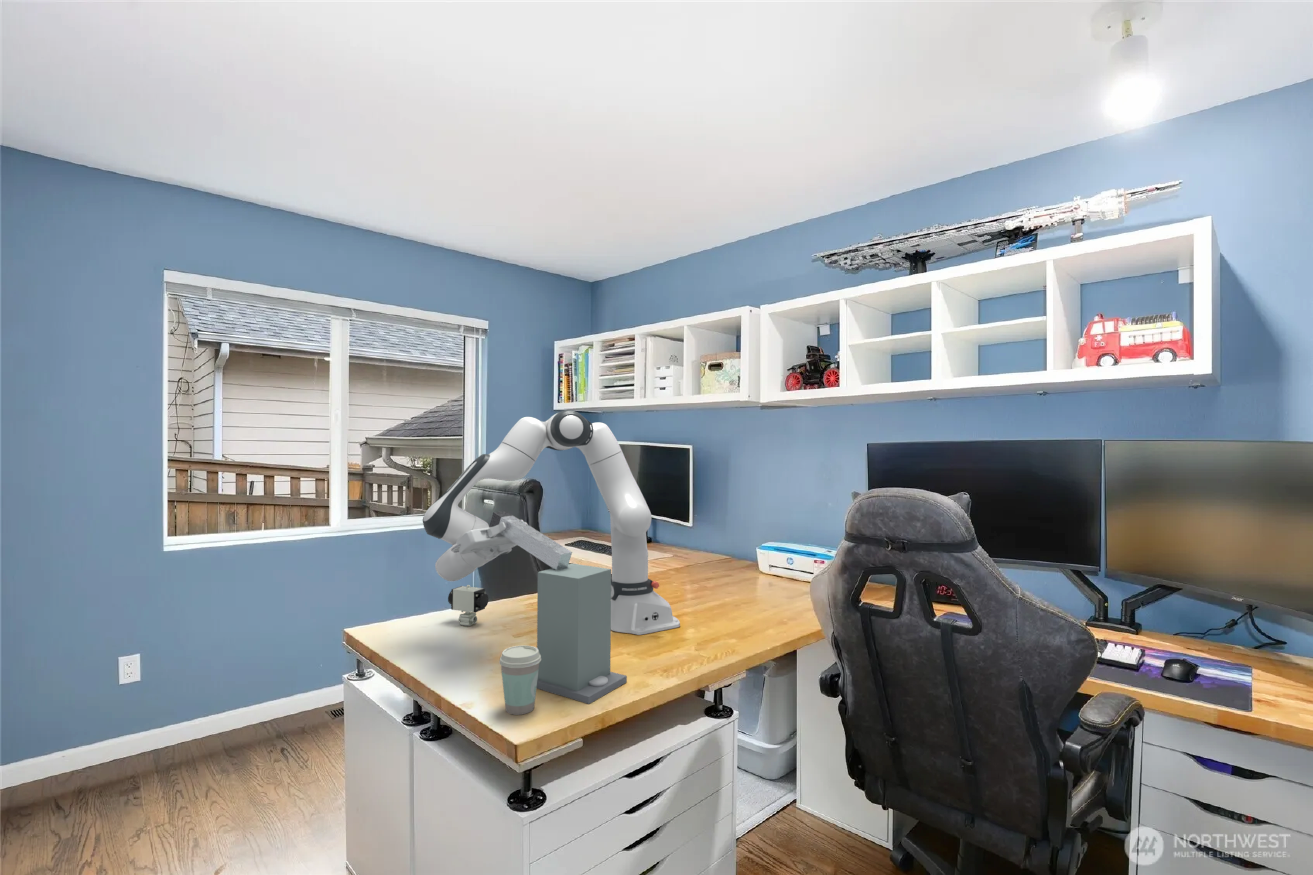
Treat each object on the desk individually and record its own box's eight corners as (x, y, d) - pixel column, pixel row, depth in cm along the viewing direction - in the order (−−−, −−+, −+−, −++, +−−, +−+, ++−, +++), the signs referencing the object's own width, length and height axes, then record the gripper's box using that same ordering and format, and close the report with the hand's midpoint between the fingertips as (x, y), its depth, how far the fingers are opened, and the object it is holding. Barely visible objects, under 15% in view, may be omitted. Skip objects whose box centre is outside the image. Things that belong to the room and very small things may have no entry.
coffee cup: (538, 717, 122) (538, 657, 122) (495, 718, 121) (495, 658, 122) (542, 699, 131) (543, 643, 131) (502, 700, 130) (503, 644, 130)
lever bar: (489, 526, 152) (493, 512, 152) (501, 524, 156) (505, 510, 155) (556, 570, 140) (560, 554, 140) (567, 567, 144) (572, 552, 143)
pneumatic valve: (479, 628, 180) (479, 588, 180) (447, 624, 184) (447, 585, 184) (490, 623, 185) (490, 584, 185) (459, 619, 189) (459, 581, 189)
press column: (533, 687, 137) (534, 572, 137) (573, 668, 149) (574, 562, 149) (588, 703, 128) (589, 581, 129) (626, 682, 140) (627, 570, 141)
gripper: (443, 540, 149) (477, 516, 143) (505, 531, 166) (537, 508, 160) (451, 564, 147) (486, 540, 141) (513, 552, 165) (546, 530, 158)
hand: (513, 523), depth 151 cm, fingers closed on lever bar, 4 cm apart
